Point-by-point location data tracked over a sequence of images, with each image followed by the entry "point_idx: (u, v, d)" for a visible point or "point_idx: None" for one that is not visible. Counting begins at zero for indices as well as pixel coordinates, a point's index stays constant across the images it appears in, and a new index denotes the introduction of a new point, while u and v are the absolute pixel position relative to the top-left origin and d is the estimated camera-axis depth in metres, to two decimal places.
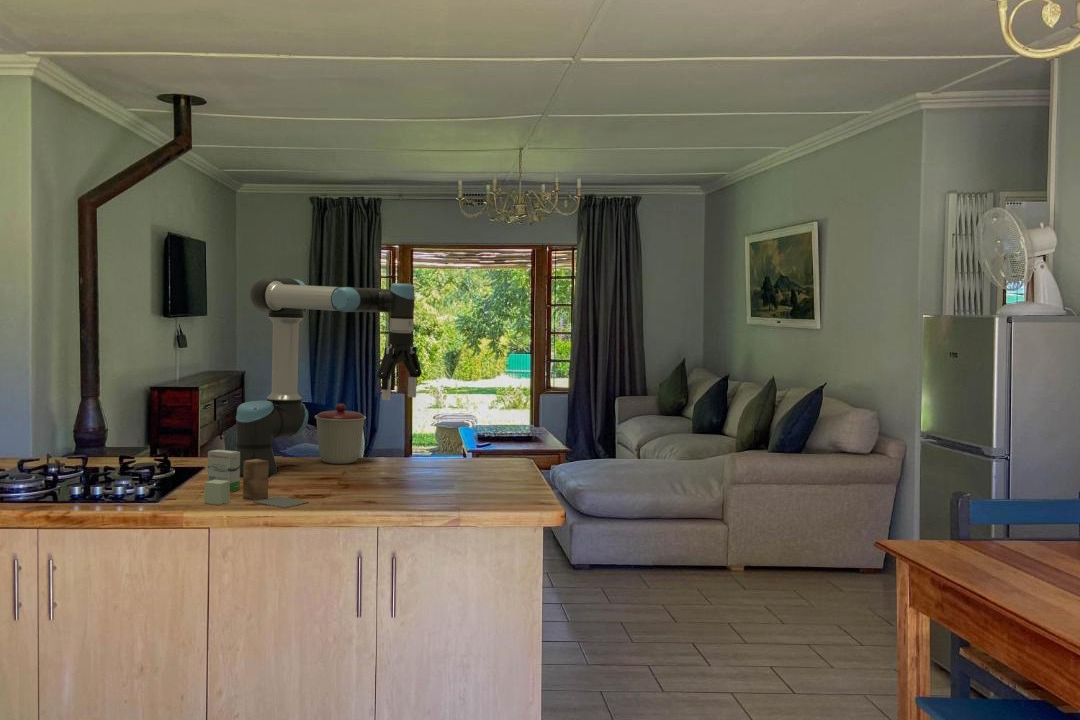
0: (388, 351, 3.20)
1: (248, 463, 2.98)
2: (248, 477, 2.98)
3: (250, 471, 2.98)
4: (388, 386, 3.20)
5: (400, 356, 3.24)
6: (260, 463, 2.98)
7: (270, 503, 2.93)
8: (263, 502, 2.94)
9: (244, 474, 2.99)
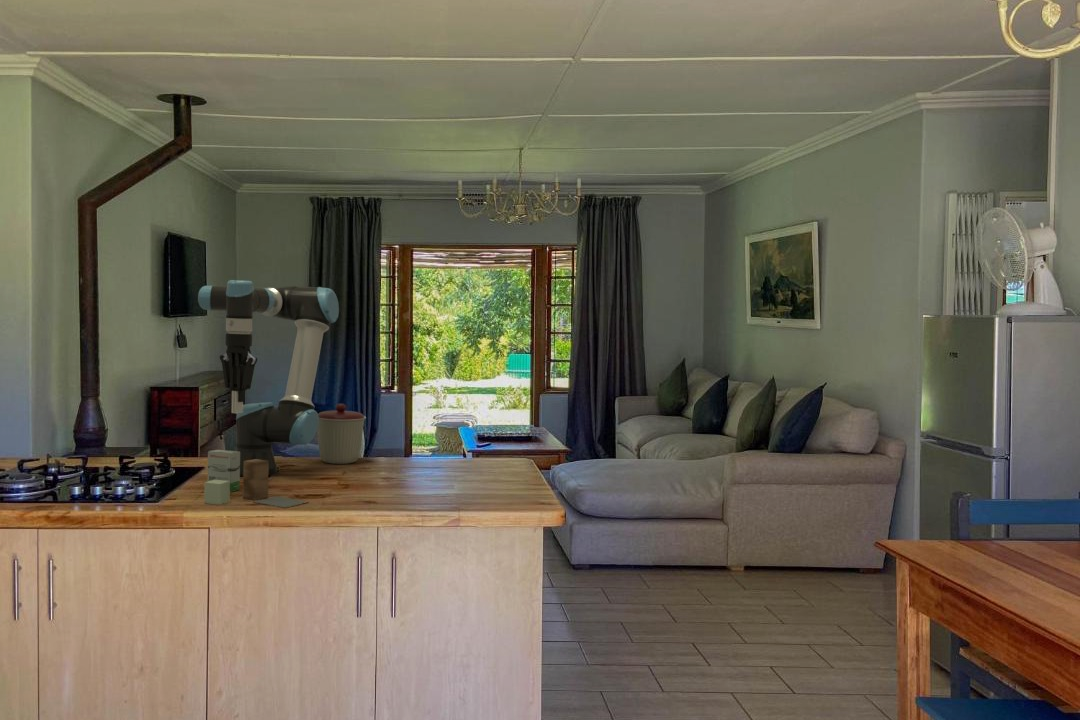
0: None
1: (248, 463, 2.98)
2: (248, 477, 2.98)
3: (250, 471, 2.98)
4: None
5: (230, 360, 3.01)
6: (260, 463, 2.98)
7: (270, 503, 2.93)
8: (263, 502, 2.94)
9: (244, 474, 2.99)
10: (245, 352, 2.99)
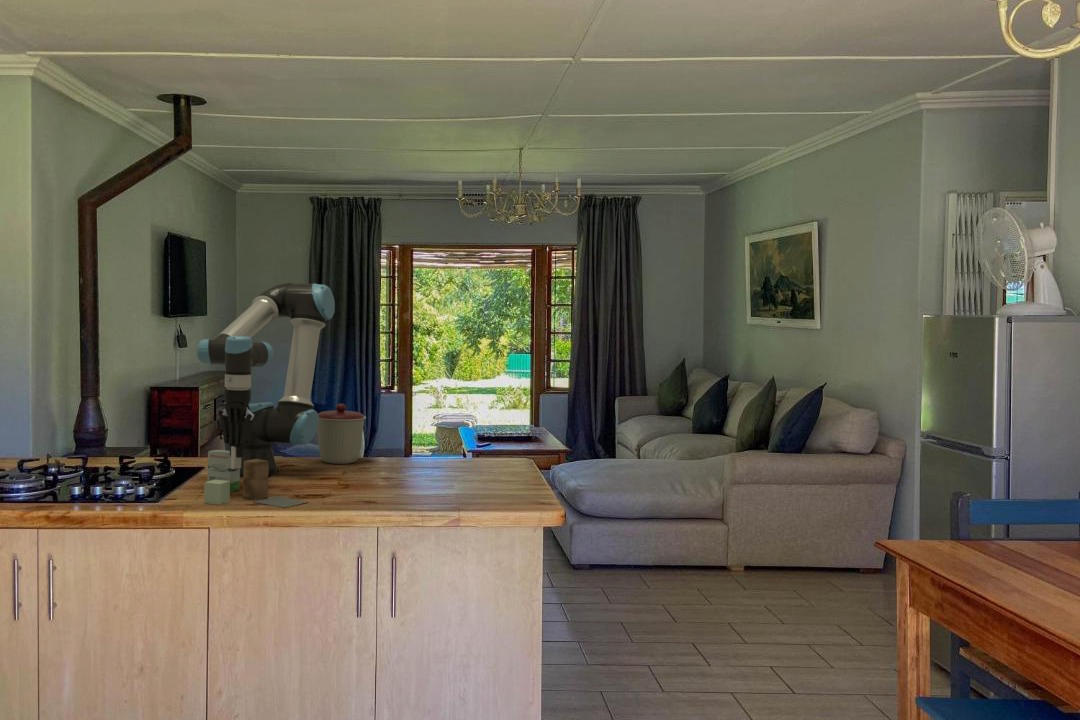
0: None
1: (248, 463, 2.98)
2: (248, 477, 2.98)
3: (250, 471, 2.98)
4: None
5: (229, 415, 3.02)
6: (260, 463, 2.98)
7: (270, 503, 2.93)
8: (263, 502, 2.94)
9: (244, 474, 2.99)
10: (244, 408, 3.00)
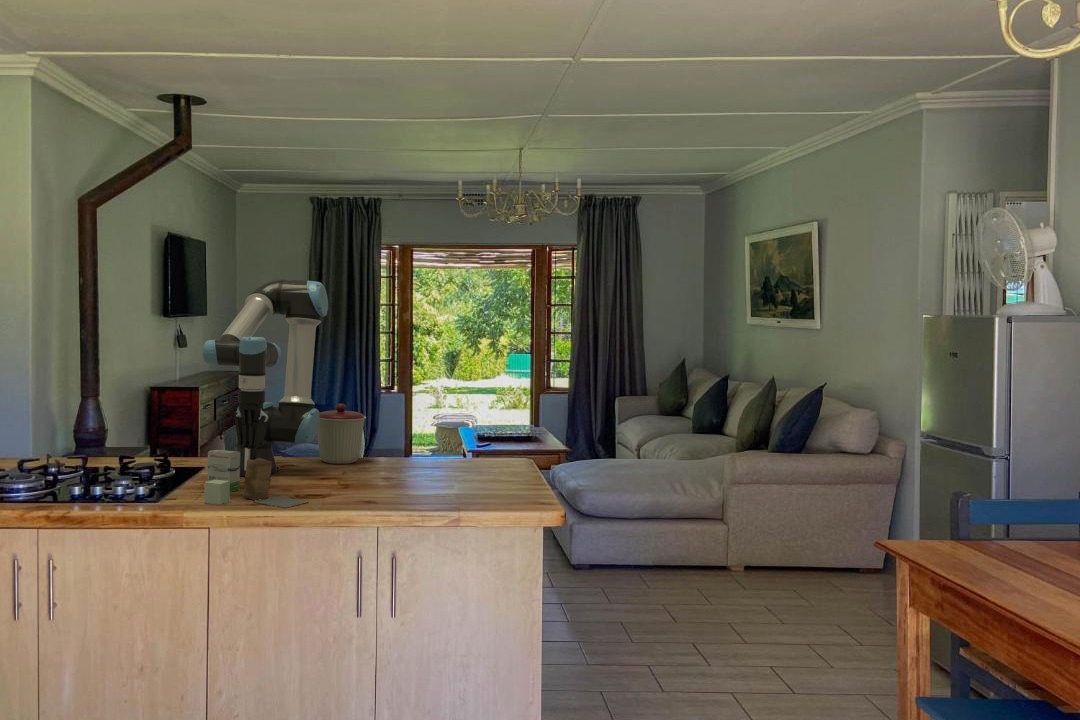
0: None
1: (251, 463, 2.97)
2: (250, 477, 2.98)
3: (253, 471, 2.97)
4: None
5: (243, 417, 2.99)
6: (263, 464, 2.97)
7: (270, 503, 2.93)
8: (263, 502, 2.94)
9: (246, 473, 2.98)
10: (258, 409, 2.97)
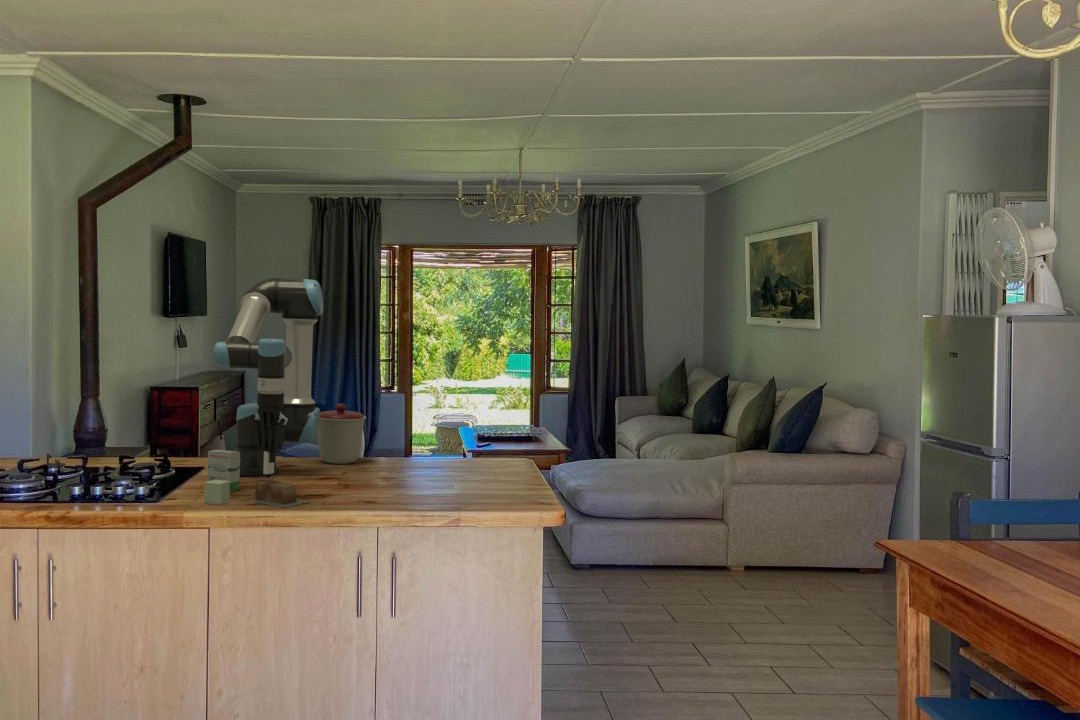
0: None
1: (283, 493, 2.92)
2: (272, 492, 2.94)
3: (277, 495, 2.93)
4: None
5: (262, 420, 2.96)
6: None
7: (270, 503, 2.93)
8: (263, 502, 2.94)
9: (274, 487, 2.94)
10: (277, 412, 2.94)
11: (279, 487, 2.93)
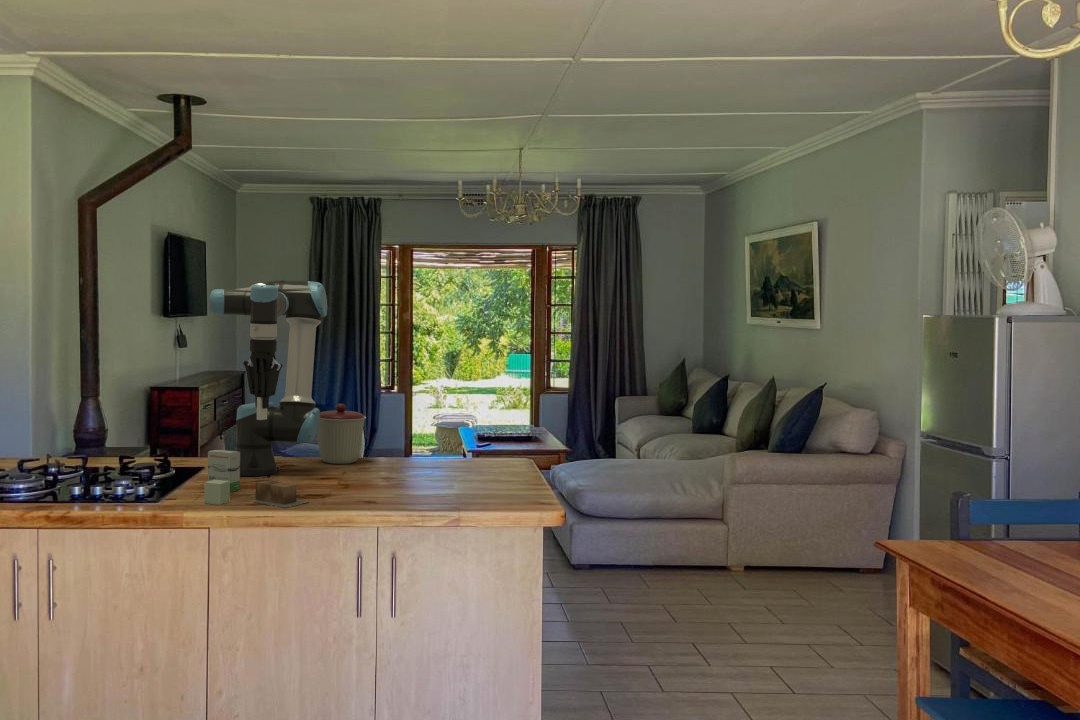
0: None
1: (283, 493, 2.92)
2: (272, 492, 2.94)
3: (277, 495, 2.93)
4: None
5: (255, 365, 2.97)
6: None
7: (270, 503, 2.93)
8: (263, 502, 2.94)
9: (274, 487, 2.94)
10: (270, 358, 2.95)
11: (279, 487, 2.93)
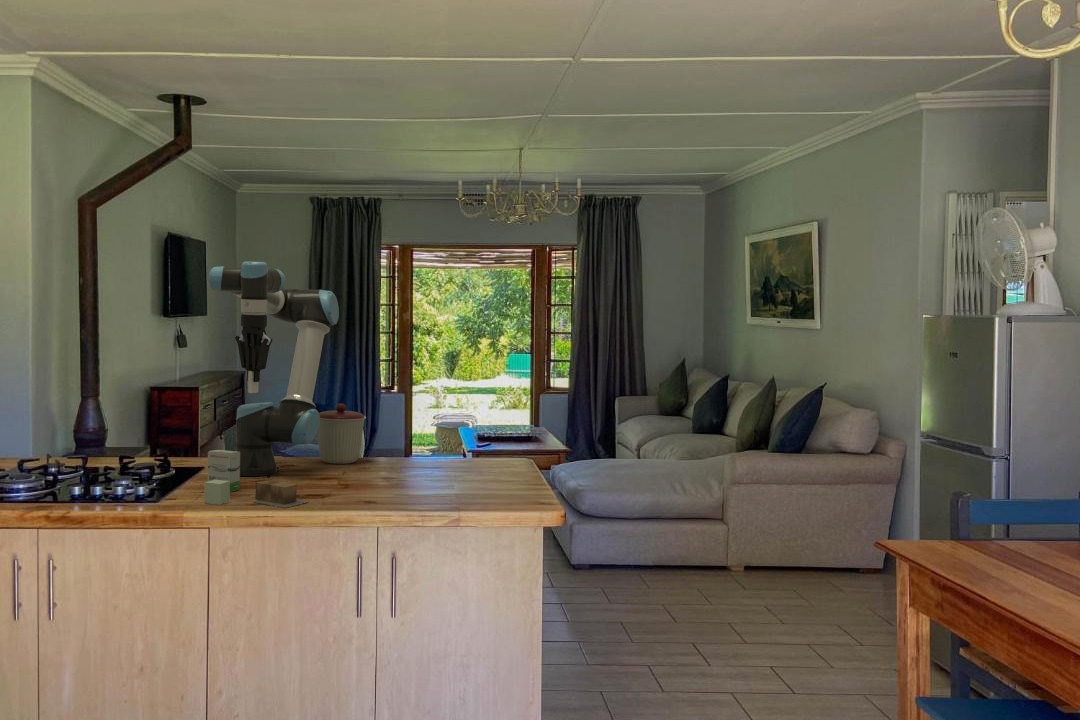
0: None
1: (283, 493, 2.92)
2: (272, 492, 2.94)
3: (277, 495, 2.93)
4: None
5: (246, 340, 3.05)
6: None
7: (270, 503, 2.93)
8: (263, 502, 2.94)
9: (274, 487, 2.94)
10: (260, 333, 3.03)
11: (279, 487, 2.93)
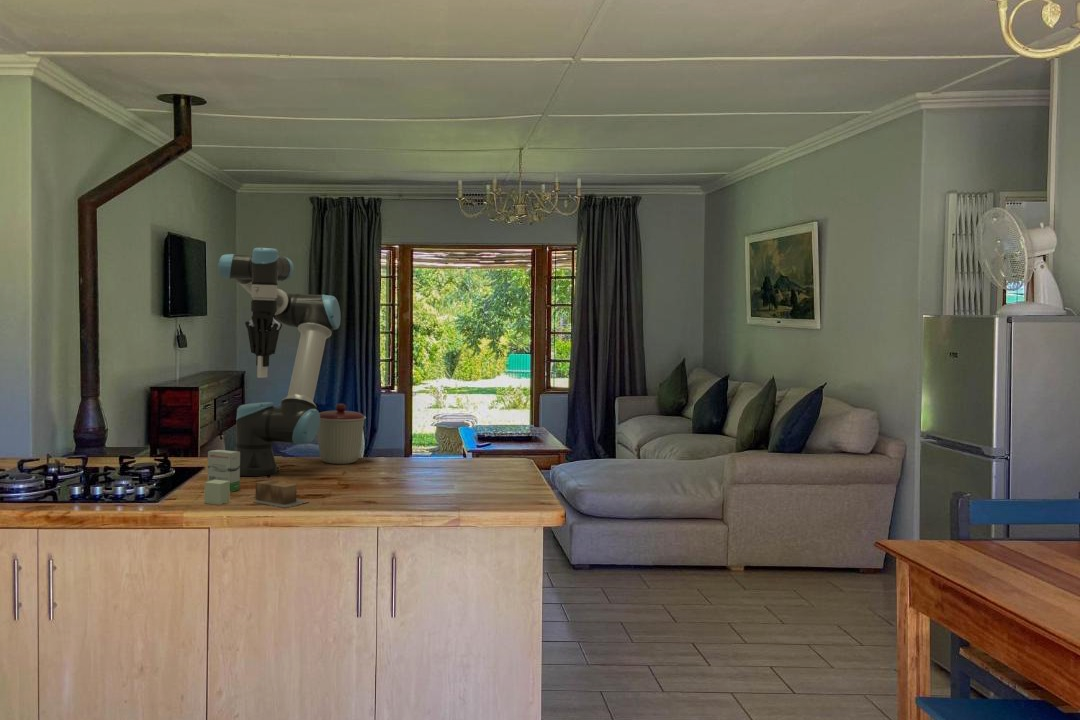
0: None
1: (283, 493, 2.92)
2: (272, 492, 2.94)
3: (277, 495, 2.93)
4: None
5: (256, 325, 3.09)
6: None
7: (270, 503, 2.93)
8: (263, 502, 2.94)
9: (274, 487, 2.94)
10: (270, 318, 3.07)
11: (279, 487, 2.93)
